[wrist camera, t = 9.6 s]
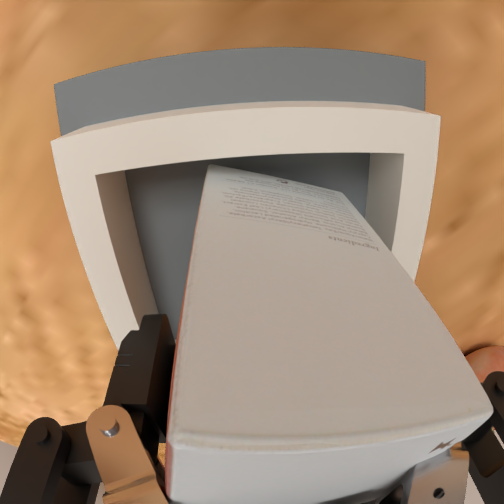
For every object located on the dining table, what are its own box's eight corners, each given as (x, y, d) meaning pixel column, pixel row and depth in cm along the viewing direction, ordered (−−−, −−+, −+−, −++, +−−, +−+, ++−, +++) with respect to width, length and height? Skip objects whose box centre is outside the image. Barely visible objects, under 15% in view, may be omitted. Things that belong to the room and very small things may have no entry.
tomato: (398, 389, 25) (427, 461, 18) (489, 310, 21) (539, 376, 14) (440, 408, 29) (464, 462, 22) (511, 347, 25) (546, 398, 18)
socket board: (69, 82, 11) (14, 90, 8) (408, 61, 12) (466, 63, 8) (144, 362, 21) (133, 416, 17) (372, 342, 21) (393, 391, 17)
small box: (208, 159, 12) (159, 436, 3) (344, 189, 13) (507, 408, 4) (182, 318, 16) (162, 532, 7) (289, 332, 17) (329, 529, 8)
